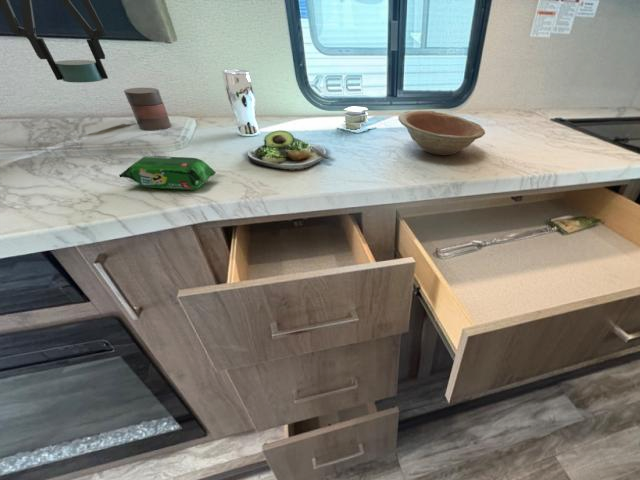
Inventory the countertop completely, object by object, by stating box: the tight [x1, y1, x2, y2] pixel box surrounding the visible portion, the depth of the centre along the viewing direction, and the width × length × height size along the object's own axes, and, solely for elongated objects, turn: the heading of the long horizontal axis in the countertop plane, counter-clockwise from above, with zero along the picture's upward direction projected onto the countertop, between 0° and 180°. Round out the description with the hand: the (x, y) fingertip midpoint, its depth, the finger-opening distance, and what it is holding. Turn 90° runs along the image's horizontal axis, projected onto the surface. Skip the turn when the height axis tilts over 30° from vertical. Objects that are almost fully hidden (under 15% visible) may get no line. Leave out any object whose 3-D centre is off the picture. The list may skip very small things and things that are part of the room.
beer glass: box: [221, 69, 261, 137], centre depth 92 cm, size 7×7×15 cm
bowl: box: [397, 110, 486, 156], centre depth 92 cm, size 24×24×8 cm
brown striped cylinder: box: [123, 87, 172, 131], centre depth 94 cm, size 8×8×9 cm
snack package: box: [118, 155, 216, 191], centre depth 66 cm, size 7×16×5 cm, turn 92°
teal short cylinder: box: [54, 59, 105, 84], centre depth 69 cm, size 7×7×3 cm
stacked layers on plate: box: [338, 106, 369, 130], centre depth 105 cm, size 10×9×6 cm
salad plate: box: [246, 130, 331, 171], centre depth 82 cm, size 19×18×5 cm
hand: (83, 78), depth 70 cm, fingers closed on teal short cylinder, 7 cm apart
